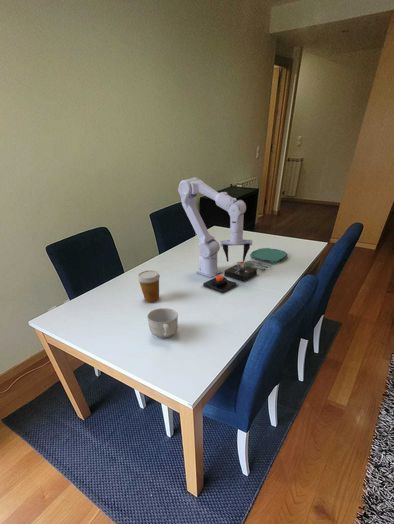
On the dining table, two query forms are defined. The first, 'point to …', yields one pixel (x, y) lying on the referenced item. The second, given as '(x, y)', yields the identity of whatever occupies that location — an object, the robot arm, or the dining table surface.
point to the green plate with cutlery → (266, 257)
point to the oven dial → (241, 266)
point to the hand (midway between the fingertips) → (235, 260)
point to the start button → (219, 278)
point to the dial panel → (240, 273)
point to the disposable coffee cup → (149, 285)
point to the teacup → (163, 322)
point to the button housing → (219, 285)
